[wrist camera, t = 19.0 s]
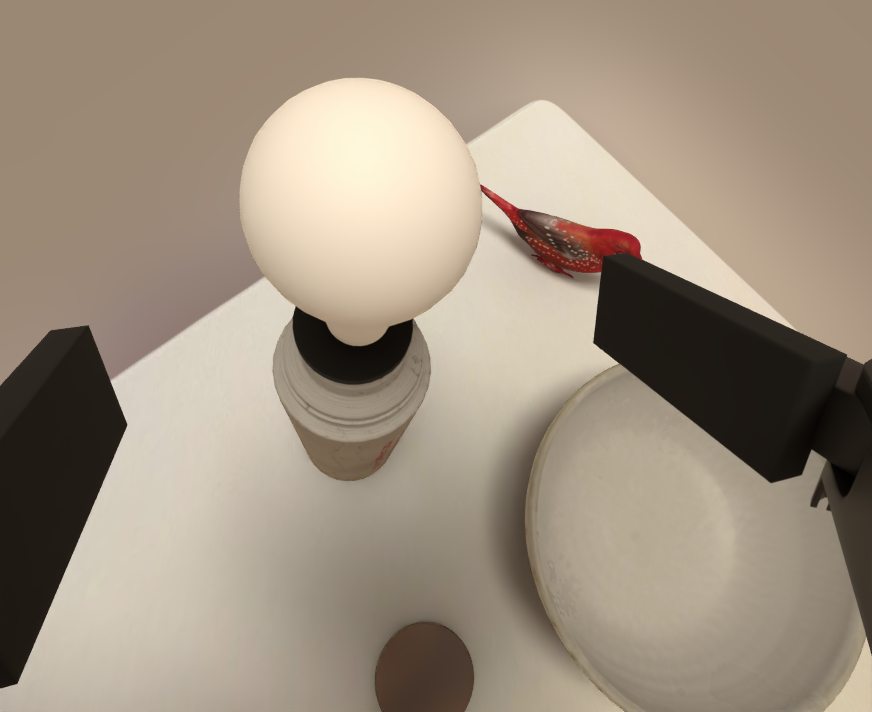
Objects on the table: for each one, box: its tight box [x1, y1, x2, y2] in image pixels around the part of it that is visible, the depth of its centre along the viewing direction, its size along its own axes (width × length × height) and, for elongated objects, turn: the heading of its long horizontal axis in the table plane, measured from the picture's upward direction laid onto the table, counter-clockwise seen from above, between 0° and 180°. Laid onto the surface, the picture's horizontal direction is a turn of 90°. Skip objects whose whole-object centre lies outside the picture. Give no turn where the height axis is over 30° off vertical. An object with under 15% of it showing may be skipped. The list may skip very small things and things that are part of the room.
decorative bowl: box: [525, 364, 866, 712], centre depth 43 cm, size 27×27×12 cm
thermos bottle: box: [273, 306, 431, 481], centre depth 34 cm, size 8×8×28 cm
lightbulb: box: [239, 78, 482, 346], centre depth 16 cm, size 6×6×11 cm
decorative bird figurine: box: [480, 185, 642, 278], centre depth 52 cm, size 3×18×10 cm, turn 62°
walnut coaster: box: [375, 622, 474, 712], centre depth 42 cm, size 8×8×1 cm
